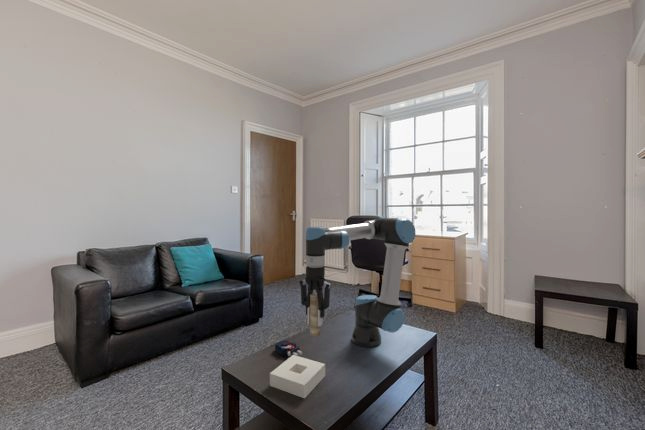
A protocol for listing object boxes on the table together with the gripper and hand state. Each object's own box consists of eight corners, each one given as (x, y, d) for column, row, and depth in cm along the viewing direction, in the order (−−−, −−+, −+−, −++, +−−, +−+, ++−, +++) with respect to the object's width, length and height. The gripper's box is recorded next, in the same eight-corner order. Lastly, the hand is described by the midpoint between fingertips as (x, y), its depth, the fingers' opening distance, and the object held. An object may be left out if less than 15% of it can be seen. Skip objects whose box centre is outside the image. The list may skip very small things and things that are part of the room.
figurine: (291, 354, 130) (271, 343, 141) (291, 363, 130) (272, 351, 141) (306, 347, 136) (286, 337, 147) (306, 356, 137) (286, 345, 147)
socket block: (293, 365, 128) (293, 354, 128) (325, 375, 120) (325, 364, 120) (270, 385, 114) (269, 373, 114) (304, 398, 106) (304, 385, 106)
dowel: (313, 331, 119) (313, 292, 118) (321, 333, 117) (321, 293, 117) (308, 335, 115) (308, 295, 115) (317, 337, 113) (317, 296, 113)
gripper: (292, 265, 116) (291, 323, 117) (330, 269, 108) (330, 331, 109) (301, 262, 123) (301, 317, 123) (338, 266, 115) (338, 324, 116)
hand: (315, 323), depth 116 cm, fingers closed on dowel, 4 cm apart
